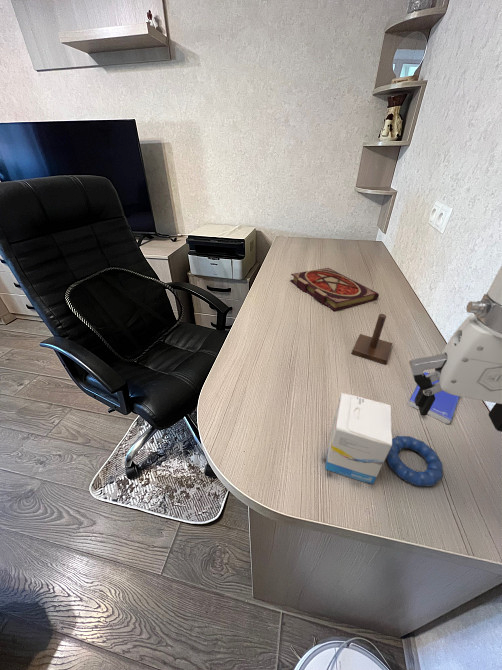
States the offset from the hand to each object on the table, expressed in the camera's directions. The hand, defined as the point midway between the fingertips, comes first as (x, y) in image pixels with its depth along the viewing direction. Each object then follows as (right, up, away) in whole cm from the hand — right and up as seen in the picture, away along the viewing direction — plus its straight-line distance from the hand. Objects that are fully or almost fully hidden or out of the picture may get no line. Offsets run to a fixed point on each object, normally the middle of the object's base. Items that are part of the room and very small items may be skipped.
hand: (456, 415), depth 41 cm
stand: (+3, +8, +37) cm, 38 cm away
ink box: (-12, -11, +11) cm, 19 cm away
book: (+1, +30, +69) cm, 75 cm away
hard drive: (+12, -3, +23) cm, 26 cm away
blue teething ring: (-1, -11, +9) cm, 14 cm away
